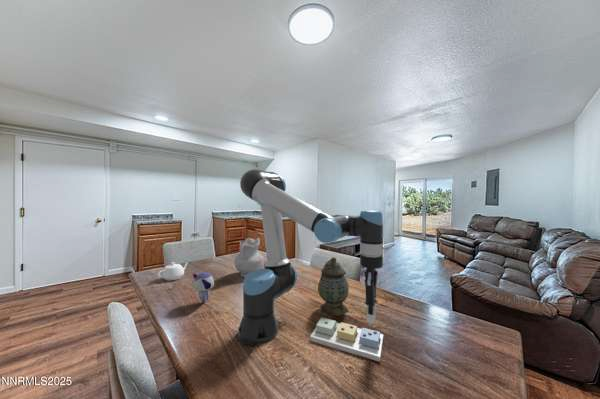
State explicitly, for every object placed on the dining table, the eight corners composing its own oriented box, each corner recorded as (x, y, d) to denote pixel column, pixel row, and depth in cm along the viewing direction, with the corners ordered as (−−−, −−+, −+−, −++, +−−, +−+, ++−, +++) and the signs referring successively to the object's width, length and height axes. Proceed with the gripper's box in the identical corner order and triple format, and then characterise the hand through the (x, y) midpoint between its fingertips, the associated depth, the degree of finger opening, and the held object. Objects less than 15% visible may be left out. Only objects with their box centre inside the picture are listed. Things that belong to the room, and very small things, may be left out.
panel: (309, 343, 81) (310, 336, 81) (321, 324, 93) (321, 318, 93) (379, 364, 71) (380, 356, 71) (383, 341, 83) (383, 334, 83)
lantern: (346, 321, 96) (347, 263, 96) (314, 315, 101) (315, 259, 100) (350, 306, 109) (351, 255, 109) (322, 301, 114) (323, 252, 114)
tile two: (336, 337, 81) (337, 330, 81) (341, 328, 86) (341, 321, 86) (353, 342, 78) (353, 334, 78) (356, 332, 84) (357, 325, 83)
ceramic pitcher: (258, 283, 140) (262, 243, 140) (227, 280, 140) (231, 240, 140) (264, 271, 162) (267, 237, 162) (237, 269, 162) (240, 234, 162)
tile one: (316, 331, 84) (316, 324, 84) (321, 323, 89) (321, 316, 89) (331, 335, 81) (331, 328, 81) (336, 327, 87) (336, 320, 87)
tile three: (359, 343, 77) (359, 336, 77) (362, 334, 83) (362, 327, 83) (377, 348, 75) (378, 340, 75) (379, 338, 80) (379, 331, 80)
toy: (218, 303, 111) (218, 272, 111) (198, 310, 104) (198, 277, 103) (208, 296, 118) (208, 267, 118) (189, 302, 111) (189, 272, 111)
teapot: (182, 271, 155) (182, 257, 155) (194, 275, 149) (194, 260, 149) (152, 281, 138) (152, 264, 138) (163, 285, 132) (163, 268, 132)
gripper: (381, 260, 71) (380, 334, 71) (384, 251, 83) (383, 315, 83) (356, 257, 74) (356, 329, 74) (363, 249, 86) (363, 311, 86)
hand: (371, 321), depth 78 cm, fingers closed
